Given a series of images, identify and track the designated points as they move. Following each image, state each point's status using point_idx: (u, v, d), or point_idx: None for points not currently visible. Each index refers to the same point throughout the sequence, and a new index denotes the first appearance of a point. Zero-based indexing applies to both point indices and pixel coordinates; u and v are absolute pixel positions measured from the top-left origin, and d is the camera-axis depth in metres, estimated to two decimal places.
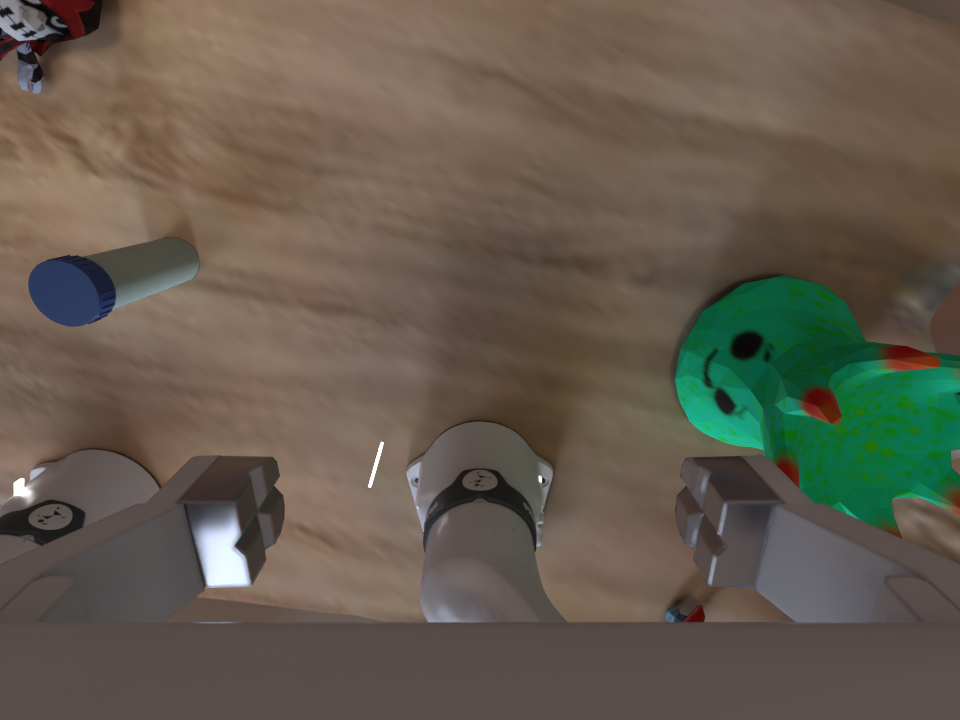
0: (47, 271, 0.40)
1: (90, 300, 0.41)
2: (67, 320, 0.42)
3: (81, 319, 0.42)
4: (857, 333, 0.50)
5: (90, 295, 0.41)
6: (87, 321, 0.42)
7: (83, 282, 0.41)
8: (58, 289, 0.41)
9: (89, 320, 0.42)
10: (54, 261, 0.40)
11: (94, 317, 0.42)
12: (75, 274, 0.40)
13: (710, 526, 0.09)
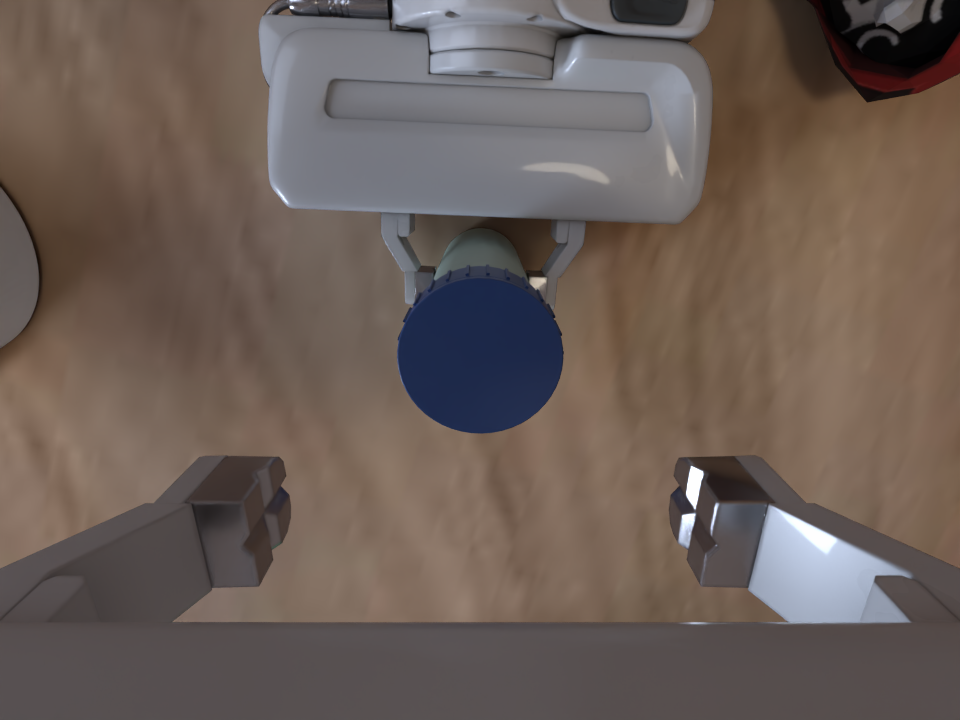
0: (522, 318, 0.16)
1: (490, 416, 0.17)
2: (415, 377, 0.17)
3: (433, 405, 0.17)
4: None
5: (502, 414, 0.17)
6: (435, 417, 0.18)
7: (528, 396, 0.17)
8: (487, 347, 0.17)
9: (439, 421, 0.18)
10: (554, 329, 0.16)
11: (450, 426, 0.18)
12: (541, 378, 0.17)
13: (703, 526, 0.09)
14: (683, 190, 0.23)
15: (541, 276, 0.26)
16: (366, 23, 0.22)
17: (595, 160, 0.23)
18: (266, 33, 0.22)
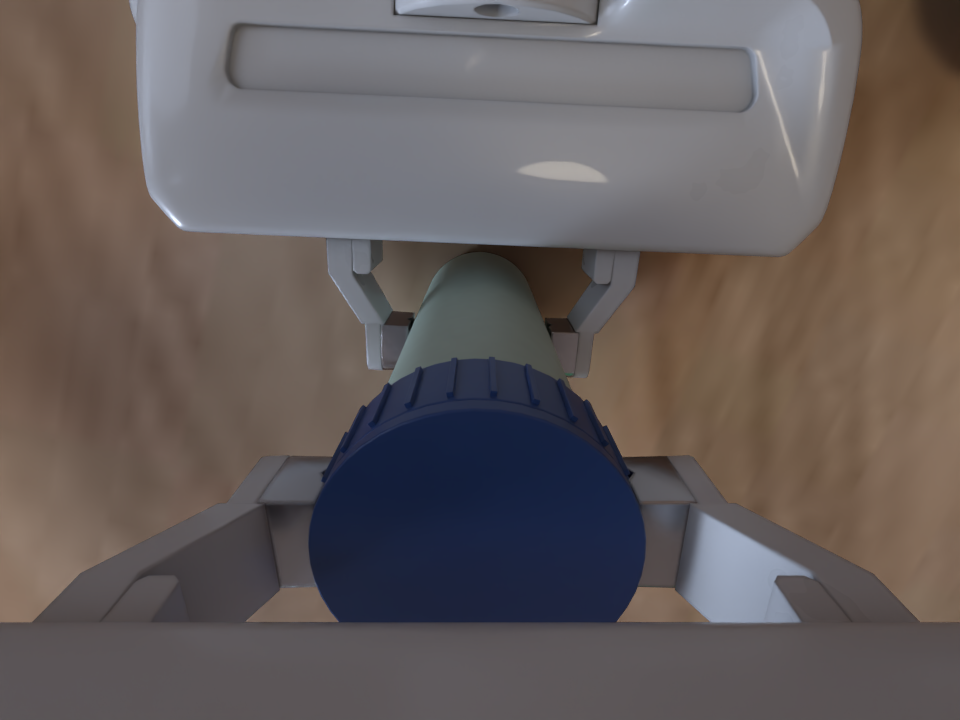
0: (566, 486, 0.08)
1: None
2: (348, 589, 0.08)
3: None
4: None
5: None
6: None
7: (572, 621, 0.09)
8: (491, 539, 0.08)
9: None
10: (632, 506, 0.08)
11: None
12: (599, 591, 0.08)
13: None
14: (798, 205, 0.15)
15: (569, 331, 0.17)
16: None
17: (662, 158, 0.14)
18: None
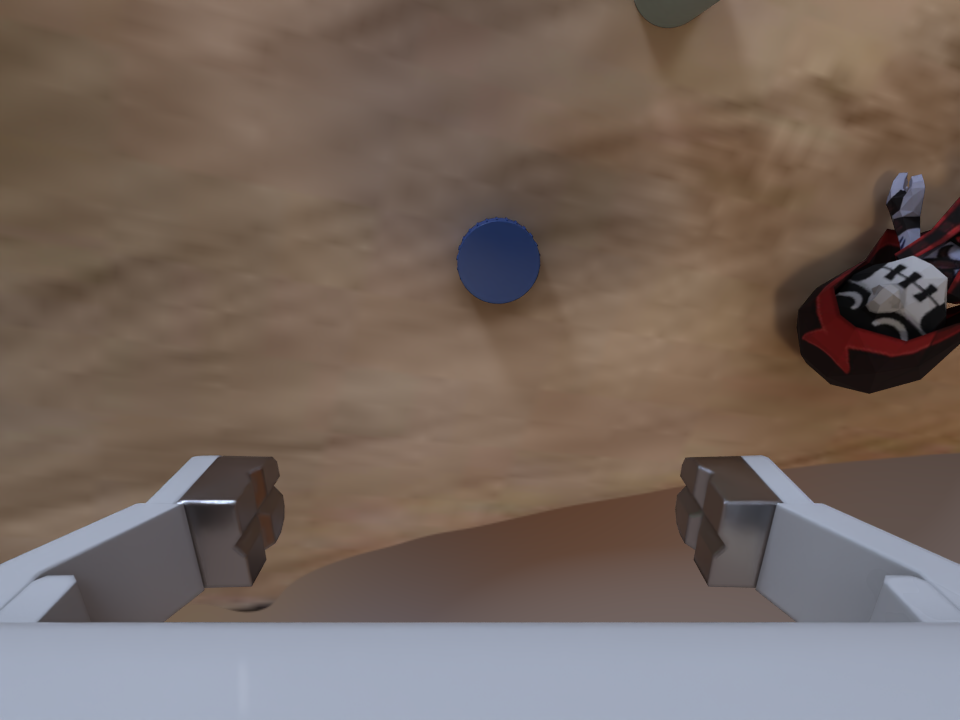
0: (476, 243, 0.33)
1: (529, 257, 0.34)
2: (507, 295, 0.34)
3: (523, 286, 0.34)
4: None
5: (528, 251, 0.33)
6: (530, 286, 0.34)
7: (518, 238, 0.33)
8: (492, 260, 0.34)
9: (532, 283, 0.34)
10: (482, 226, 0.33)
11: (536, 278, 0.34)
12: (508, 231, 0.33)
13: (710, 526, 0.09)
14: None
15: None
16: None
17: None
18: None
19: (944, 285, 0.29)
